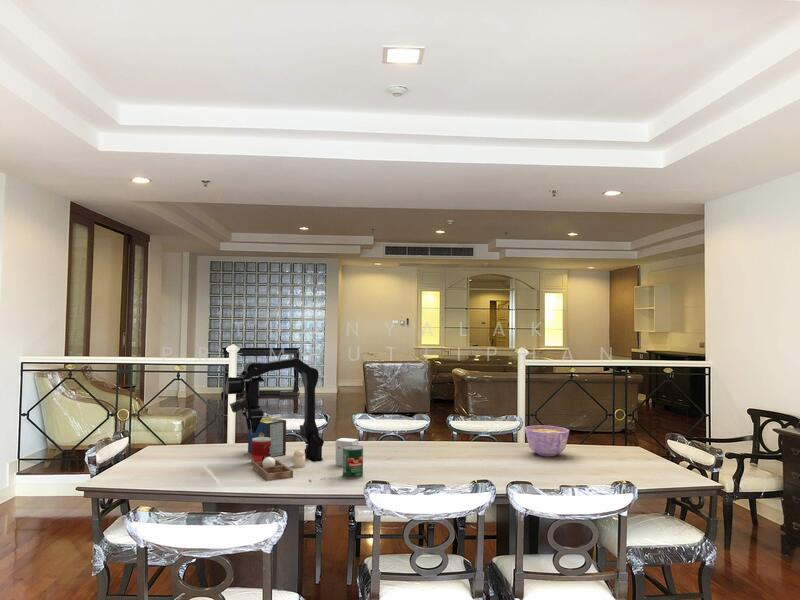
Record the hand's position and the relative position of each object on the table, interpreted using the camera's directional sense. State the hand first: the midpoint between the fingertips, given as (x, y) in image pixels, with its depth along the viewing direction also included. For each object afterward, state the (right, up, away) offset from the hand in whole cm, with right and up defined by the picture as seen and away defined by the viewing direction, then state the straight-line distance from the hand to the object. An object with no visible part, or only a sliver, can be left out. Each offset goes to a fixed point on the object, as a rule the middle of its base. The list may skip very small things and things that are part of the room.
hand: (251, 431), depth 227 cm
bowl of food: (+128, -18, +28) cm, 133 cm away
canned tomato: (+43, -14, -13) cm, 47 cm away
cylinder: (+20, -15, -4) cm, 25 cm away
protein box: (+1, -16, +23) cm, 28 cm away
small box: (+39, -15, +4) cm, 42 cm away
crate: (+12, -14, -14) cm, 23 cm away
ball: (+9, -13, -10) cm, 19 cm away
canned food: (+3, -15, +2) cm, 15 cm away
